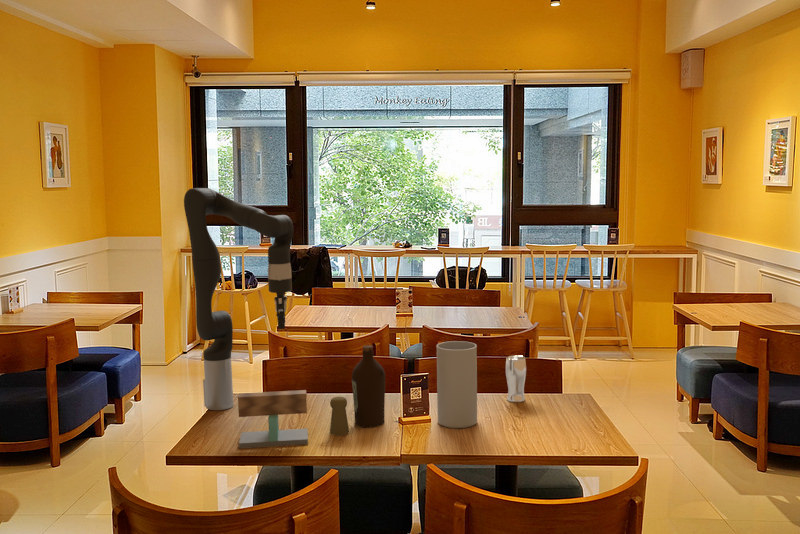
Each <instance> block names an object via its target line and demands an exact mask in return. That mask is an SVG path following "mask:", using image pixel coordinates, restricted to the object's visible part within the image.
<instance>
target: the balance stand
mask: <svg viewBox="0 0 800 534" xmlns="http://www.w3.org/2000/svg"><path fill="white" fill-rule="evenodd" d="M267 417H268V422H267V424H268V430H259V431H242V432H241V433H240V438H239V441H238V442H239V443H238V448H239V449H250V448H251V449H252V448H267V447H284V446H301V445H308V444H309V436H308V434H309V433H308V428H295V429H294V428H292V429H279V415H268V416H267Z"/></svg>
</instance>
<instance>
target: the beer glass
mask: <svg viewBox="0 0 800 534" xmlns="http://www.w3.org/2000/svg"><path fill="white" fill-rule="evenodd" d="M505 359H506V361H505V376H506V382H507V388H508V389H507V390H508V391H507V397H506V398H507V399H506V400H507V401H508V402H511V403H521V402H525V400H526V397H525V382H526V375H527V364H526V363H527V362H526V357H525V356H523V355H509V356H506V358H505Z"/></svg>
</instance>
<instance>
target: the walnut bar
mask: <svg viewBox="0 0 800 534" xmlns="http://www.w3.org/2000/svg"><path fill="white" fill-rule="evenodd" d="M307 403H308V402H307V390H306V389H301V390H300V389H299V390H297V389H296V390H283V391H278V390H277V391H263V392H262V391H261V392H242V393H238V396H237V405H238V406H237V407H238V408H237V409H238V418H246V417H262V416H263V417H264V416H266V417H268V416H269V415H278V416H280V415H297V414H299V415H300V414H308V408H307V407H308V405H307Z"/></svg>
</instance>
